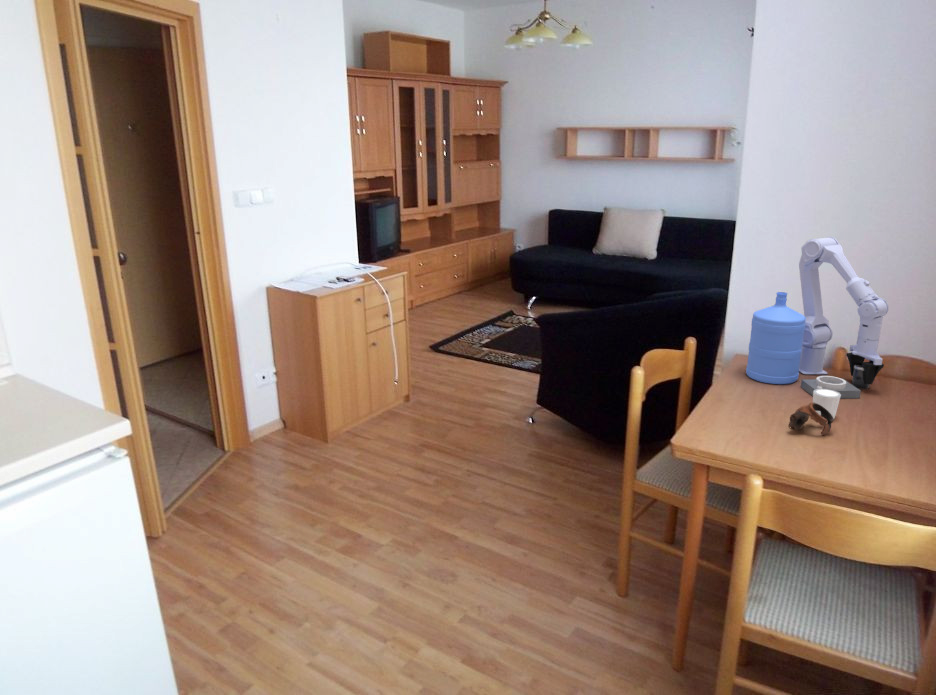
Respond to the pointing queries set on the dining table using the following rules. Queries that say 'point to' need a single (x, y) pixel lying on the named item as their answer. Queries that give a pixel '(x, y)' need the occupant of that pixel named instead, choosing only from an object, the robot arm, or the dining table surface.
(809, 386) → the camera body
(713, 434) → the dining table surface
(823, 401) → the white cup
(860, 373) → the lens
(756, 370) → the water jug
